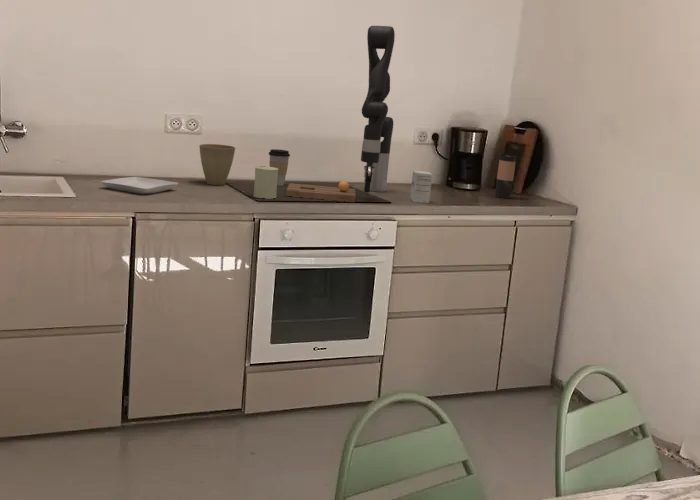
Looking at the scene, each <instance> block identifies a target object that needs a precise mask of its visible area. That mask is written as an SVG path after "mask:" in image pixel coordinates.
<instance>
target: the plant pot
mask: <svg viewBox="0 0 700 500" xmlns="http://www.w3.org/2000/svg"><path fill="white" fill-rule="evenodd" d="M235 151H236V147H235V146H233V145H227V144H217V143H201V144H199V154H200V162H201V167H202V171H203V175H204V178H205V181H206V184H208V185H210V186H224V185H225V184H226V182H227V179H228V177H229V174H230V171H231V168H232V165H233V161H234V156H235Z"/></svg>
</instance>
